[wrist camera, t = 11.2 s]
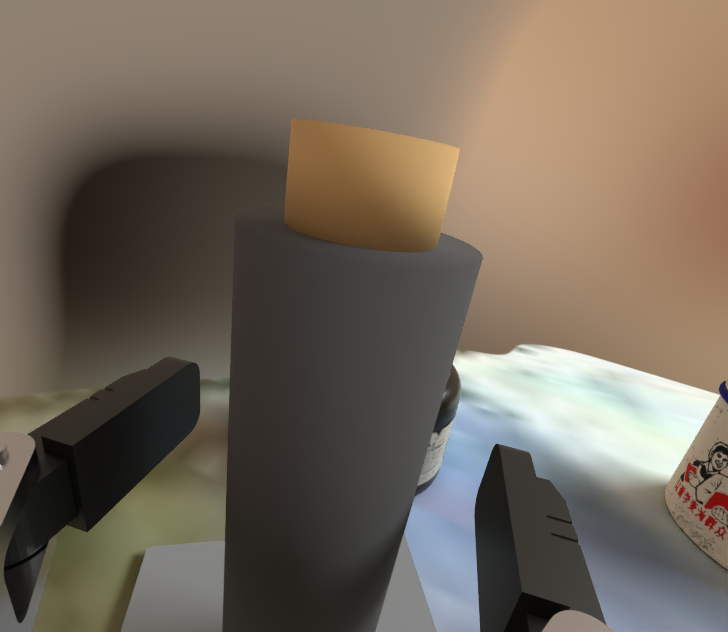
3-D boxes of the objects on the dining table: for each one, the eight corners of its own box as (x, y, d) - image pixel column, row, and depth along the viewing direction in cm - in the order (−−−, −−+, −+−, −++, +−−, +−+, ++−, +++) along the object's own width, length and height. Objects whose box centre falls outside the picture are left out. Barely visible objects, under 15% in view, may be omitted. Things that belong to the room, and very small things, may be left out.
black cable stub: (340, 615, 16) (444, 153, 9) (363, 774, 12) (577, 164, 5) (227, 631, 14) (247, 117, 8) (210, 813, 11) (221, 93, 4)
